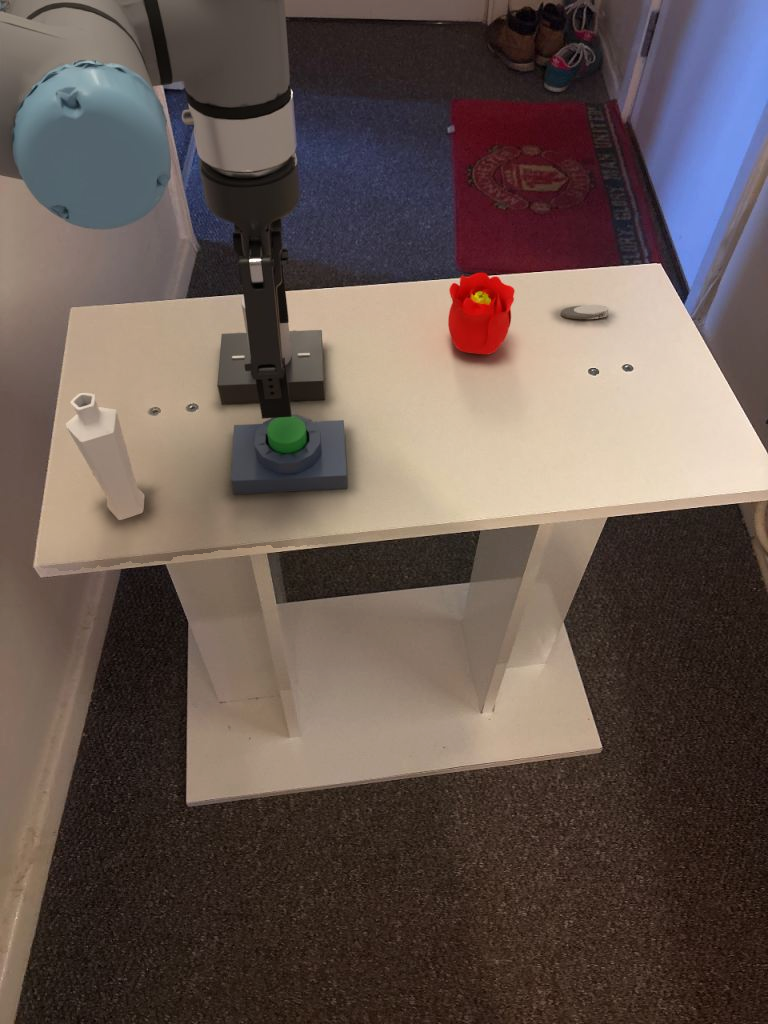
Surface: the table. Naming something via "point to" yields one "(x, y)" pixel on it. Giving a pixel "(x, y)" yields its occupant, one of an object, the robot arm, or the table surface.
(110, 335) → the table surface
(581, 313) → the oval pebble
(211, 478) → the table surface
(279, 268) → the robot arm
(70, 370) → the table surface
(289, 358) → the dial
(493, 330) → the flower
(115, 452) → the perfume bottle
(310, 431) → the button block
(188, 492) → the table surface
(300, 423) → the button
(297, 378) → the dial panel
